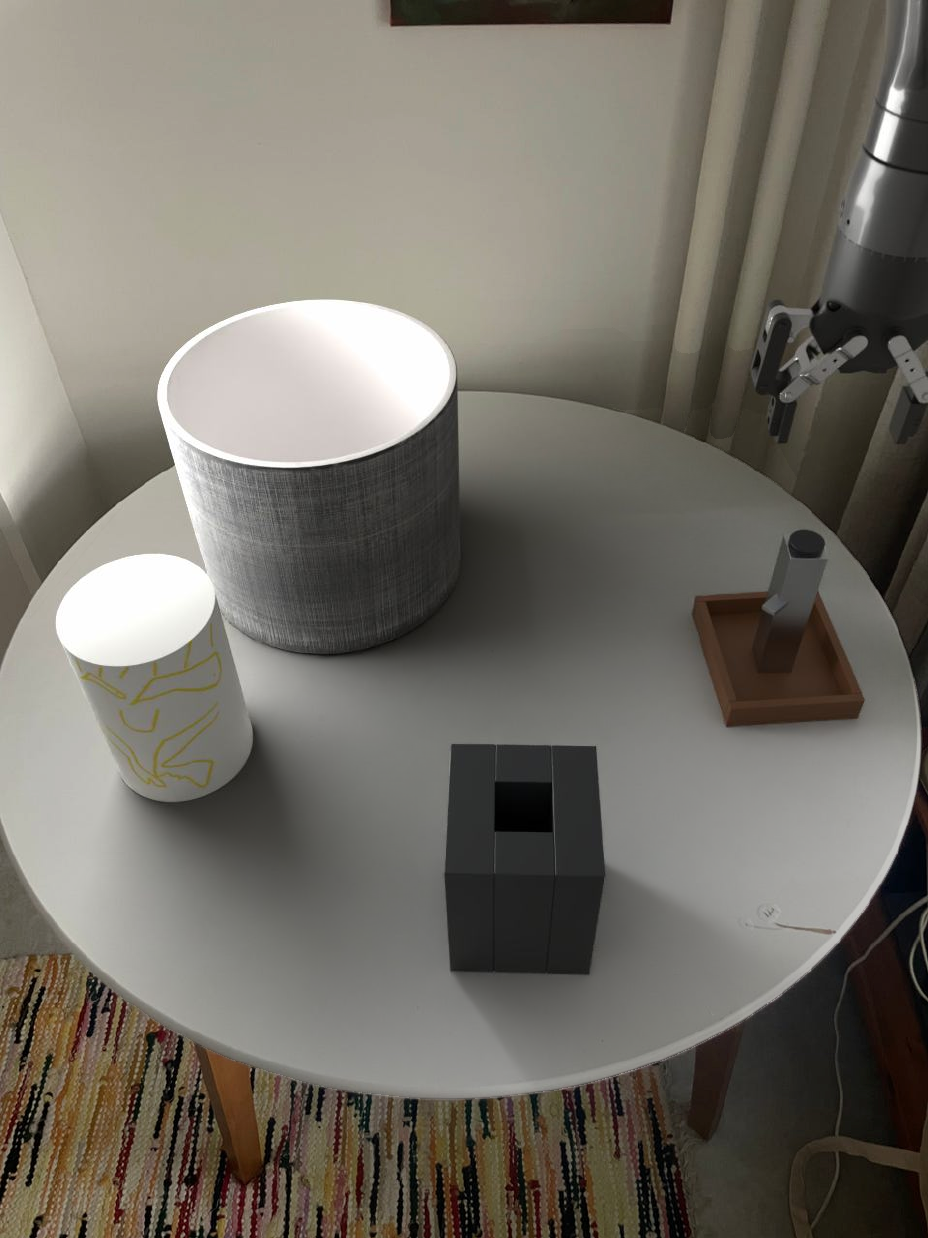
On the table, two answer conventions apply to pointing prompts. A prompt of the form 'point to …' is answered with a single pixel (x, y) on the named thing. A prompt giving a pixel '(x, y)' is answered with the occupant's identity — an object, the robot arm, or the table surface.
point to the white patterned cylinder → (158, 674)
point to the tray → (773, 698)
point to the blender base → (523, 858)
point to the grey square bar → (789, 600)
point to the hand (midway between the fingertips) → (837, 437)
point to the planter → (320, 470)
